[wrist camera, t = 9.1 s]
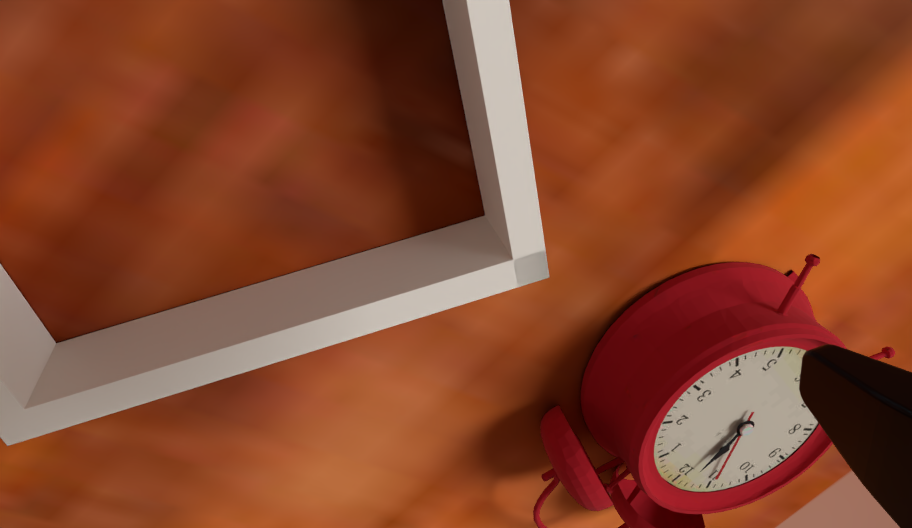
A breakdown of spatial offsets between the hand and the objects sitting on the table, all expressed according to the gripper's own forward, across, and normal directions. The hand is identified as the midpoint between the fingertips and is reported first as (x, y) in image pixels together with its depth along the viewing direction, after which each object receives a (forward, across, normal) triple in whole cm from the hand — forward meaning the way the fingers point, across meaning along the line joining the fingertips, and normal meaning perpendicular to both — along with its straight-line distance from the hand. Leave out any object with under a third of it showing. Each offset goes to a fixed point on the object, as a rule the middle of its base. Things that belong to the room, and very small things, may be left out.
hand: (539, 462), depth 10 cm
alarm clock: (+12, -8, +13) cm, 20 cm away
